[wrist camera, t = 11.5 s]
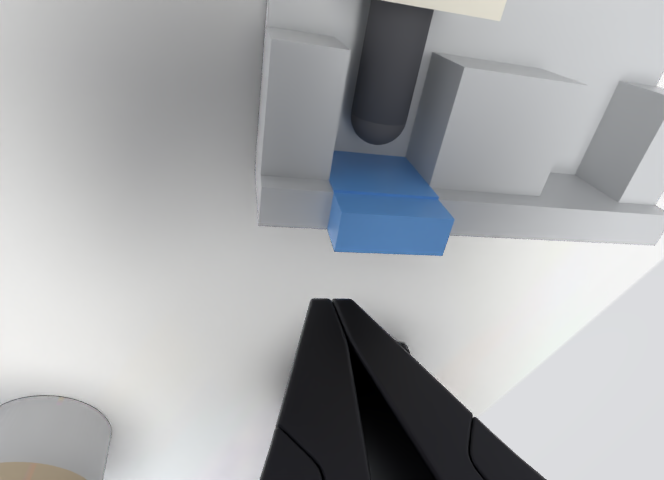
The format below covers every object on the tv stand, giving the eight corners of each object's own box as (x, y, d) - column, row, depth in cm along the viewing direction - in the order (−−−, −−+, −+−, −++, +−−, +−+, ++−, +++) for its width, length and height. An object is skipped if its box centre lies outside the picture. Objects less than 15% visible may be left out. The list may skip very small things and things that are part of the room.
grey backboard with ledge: (582, 195, 24) (683, 264, 18) (254, 169, 20) (259, 248, 14) (747, -137, 17) (993, -185, 11) (287, -284, 13) (322, -470, 7)
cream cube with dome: (408, 138, 19) (449, 181, 15) (323, 130, 18) (344, 173, 14) (486, -172, 14) (577, -222, 10) (372, -205, 13) (425, -273, 9)
